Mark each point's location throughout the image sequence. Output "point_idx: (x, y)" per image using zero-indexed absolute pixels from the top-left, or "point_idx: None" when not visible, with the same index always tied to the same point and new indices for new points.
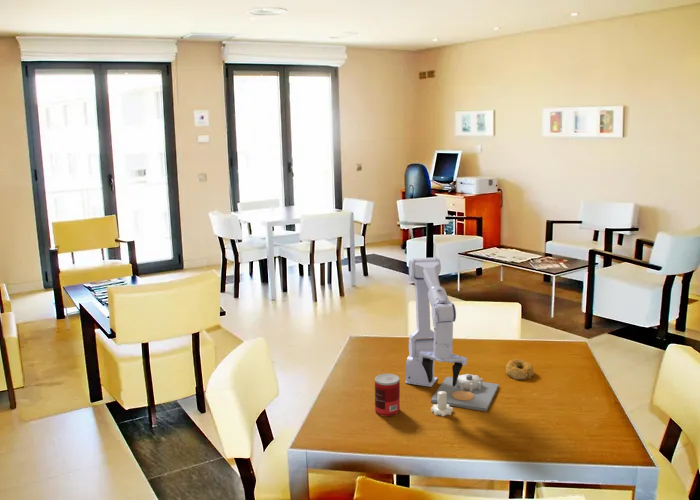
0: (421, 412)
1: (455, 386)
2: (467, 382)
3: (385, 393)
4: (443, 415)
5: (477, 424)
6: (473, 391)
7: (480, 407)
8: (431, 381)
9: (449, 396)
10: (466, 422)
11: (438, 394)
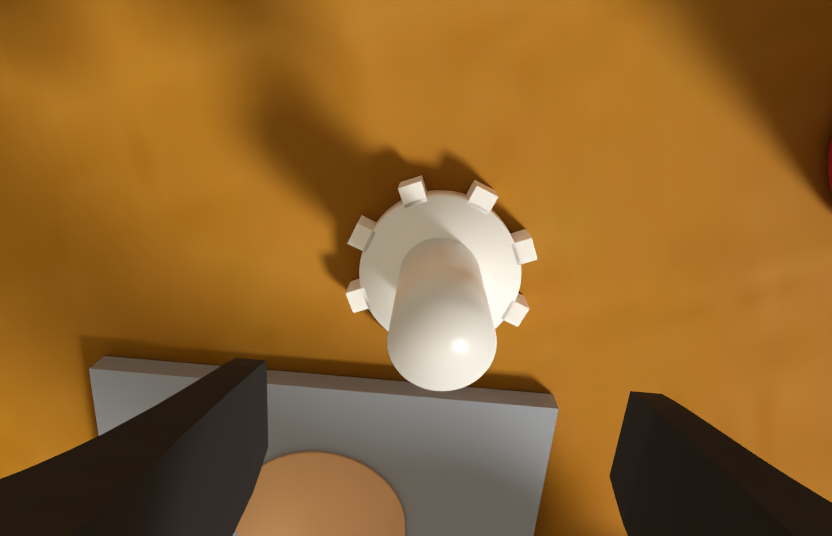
0: (610, 197)
1: None
2: None
3: None
4: (408, 180)
5: (96, 112)
6: None
7: (139, 374)
8: (620, 434)
9: (418, 488)
10: (193, 122)
11: (480, 305)
